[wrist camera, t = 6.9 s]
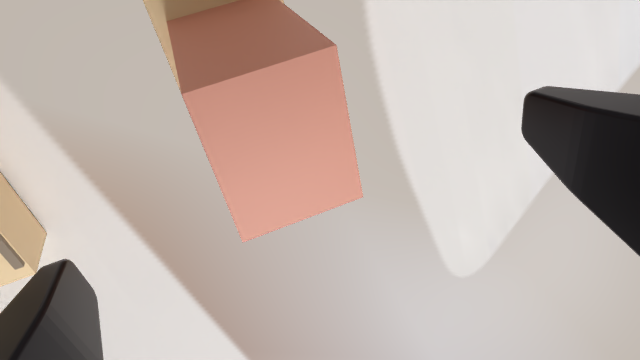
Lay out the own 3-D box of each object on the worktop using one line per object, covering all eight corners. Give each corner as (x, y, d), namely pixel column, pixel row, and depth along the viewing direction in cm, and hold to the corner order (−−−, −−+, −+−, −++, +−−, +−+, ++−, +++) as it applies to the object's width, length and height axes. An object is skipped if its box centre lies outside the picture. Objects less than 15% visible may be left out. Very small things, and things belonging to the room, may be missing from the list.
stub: (305, 142, 20) (389, 270, 13) (218, 173, 19) (260, 323, 13) (238, -125, 14) (327, -139, 7) (110, -94, 13) (81, -78, 7)
